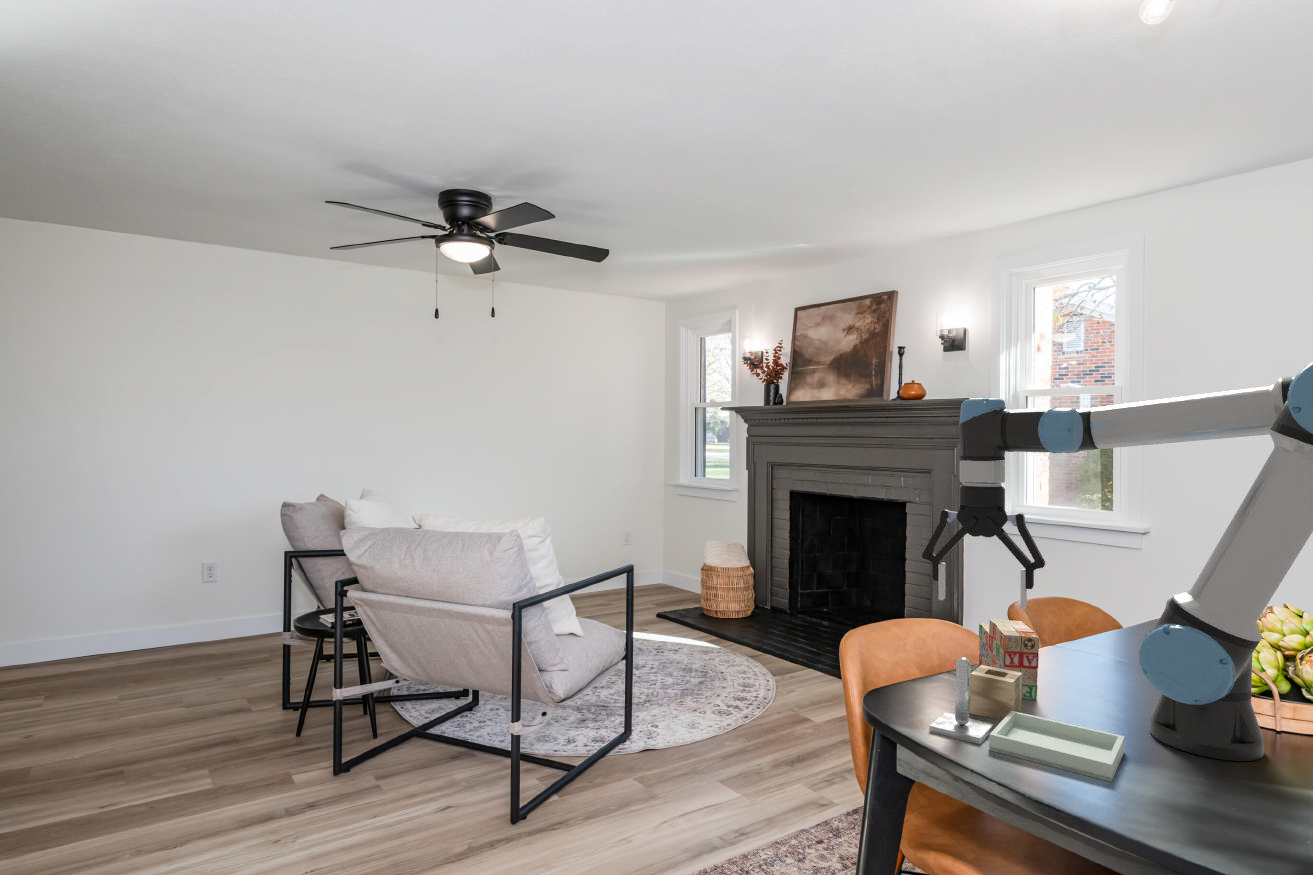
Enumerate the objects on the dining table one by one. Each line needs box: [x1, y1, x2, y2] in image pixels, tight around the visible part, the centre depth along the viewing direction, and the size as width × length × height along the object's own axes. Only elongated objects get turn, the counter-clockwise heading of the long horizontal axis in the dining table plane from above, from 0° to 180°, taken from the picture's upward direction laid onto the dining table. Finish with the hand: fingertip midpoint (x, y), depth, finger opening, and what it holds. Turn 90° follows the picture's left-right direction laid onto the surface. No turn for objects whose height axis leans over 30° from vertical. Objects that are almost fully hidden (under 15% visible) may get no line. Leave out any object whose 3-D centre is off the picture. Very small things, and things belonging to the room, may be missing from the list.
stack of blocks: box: [978, 618, 1040, 702], centre depth 154 cm, size 21×6×12 cm, turn 169°
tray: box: [988, 711, 1126, 783], centre depth 120 cm, size 17×14×2 cm
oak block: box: [969, 665, 1023, 722], centre depth 136 cm, size 7×7×7 cm
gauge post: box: [929, 657, 995, 745], centre depth 127 cm, size 8×8×12 cm
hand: (981, 603), depth 137 cm, fingers open, 13 cm apart
